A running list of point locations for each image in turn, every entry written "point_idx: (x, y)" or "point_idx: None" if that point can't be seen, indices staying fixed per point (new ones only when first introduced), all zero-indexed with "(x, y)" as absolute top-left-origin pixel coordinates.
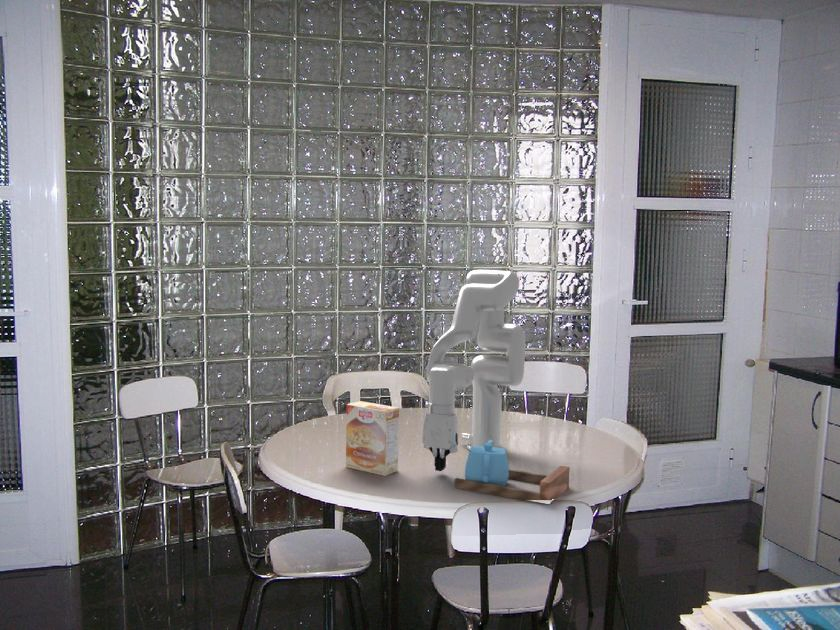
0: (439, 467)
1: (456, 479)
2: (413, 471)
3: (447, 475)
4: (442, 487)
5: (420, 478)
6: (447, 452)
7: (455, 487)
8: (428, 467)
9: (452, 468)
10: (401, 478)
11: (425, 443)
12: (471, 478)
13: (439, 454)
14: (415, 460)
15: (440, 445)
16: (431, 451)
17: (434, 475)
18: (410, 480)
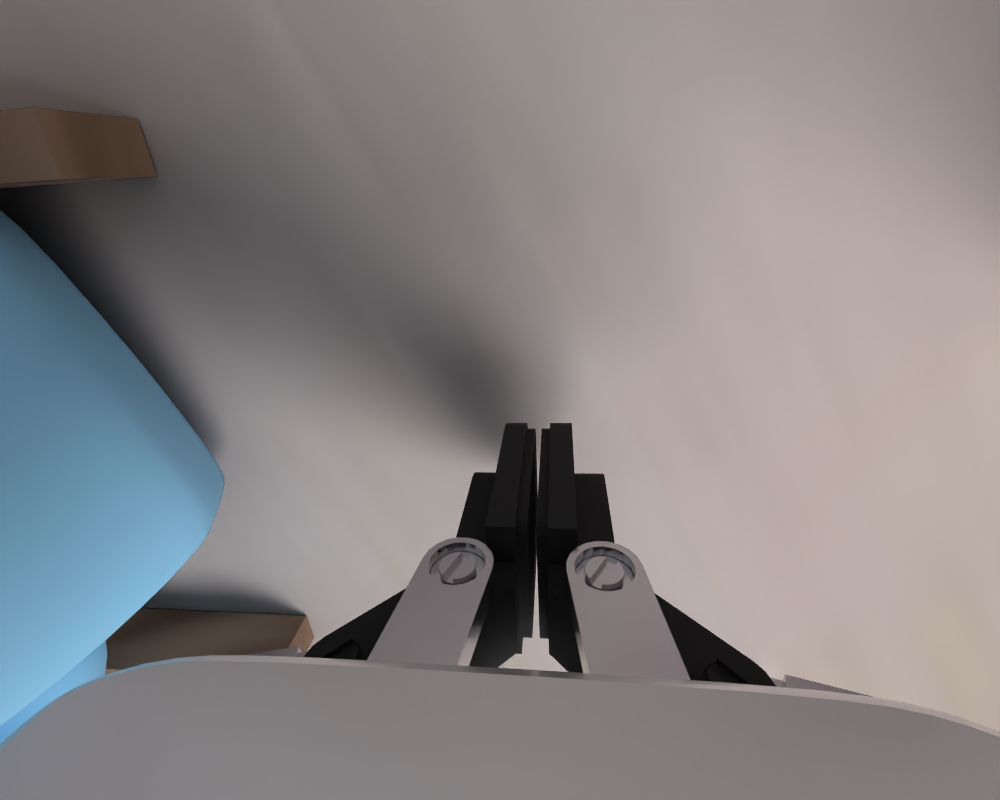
0: (510, 443)
1: (14, 109)
2: (865, 397)
3: (468, 460)
4: (241, 18)
5: (677, 198)
6: (334, 642)
7: (124, 117)
8: (748, 574)
9: (538, 631)
10: (957, 7)
11: (984, 783)
12: None
13: (550, 625)
14: (946, 682)
15: (342, 747)
16: (706, 638)
17: (579, 395)
18: (778, 8)
